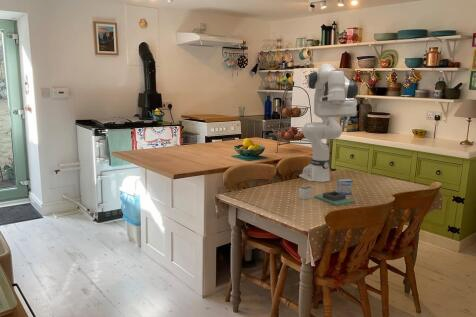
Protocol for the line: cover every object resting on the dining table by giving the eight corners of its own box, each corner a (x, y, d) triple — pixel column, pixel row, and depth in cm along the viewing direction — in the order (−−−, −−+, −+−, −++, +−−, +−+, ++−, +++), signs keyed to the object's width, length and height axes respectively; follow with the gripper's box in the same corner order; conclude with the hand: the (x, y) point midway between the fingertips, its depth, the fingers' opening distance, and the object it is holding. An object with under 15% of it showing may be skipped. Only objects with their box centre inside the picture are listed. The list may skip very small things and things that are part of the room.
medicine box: (339, 195, 231) (340, 181, 229) (336, 193, 235) (336, 179, 233) (351, 194, 232) (352, 180, 230) (348, 192, 236) (349, 178, 235)
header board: (313, 197, 225) (314, 191, 225) (331, 194, 232) (332, 188, 232) (336, 206, 210) (336, 199, 210) (354, 202, 217) (355, 196, 217)
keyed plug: (298, 197, 225) (299, 186, 223) (306, 196, 228) (307, 185, 226) (303, 199, 221) (303, 188, 220) (311, 198, 224) (311, 186, 223)
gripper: (357, 100, 206) (357, 125, 204) (317, 102, 212) (317, 126, 210) (357, 96, 200) (357, 122, 198) (316, 98, 206) (316, 124, 204)
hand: (336, 124), depth 204 cm, fingers open, 8 cm apart
